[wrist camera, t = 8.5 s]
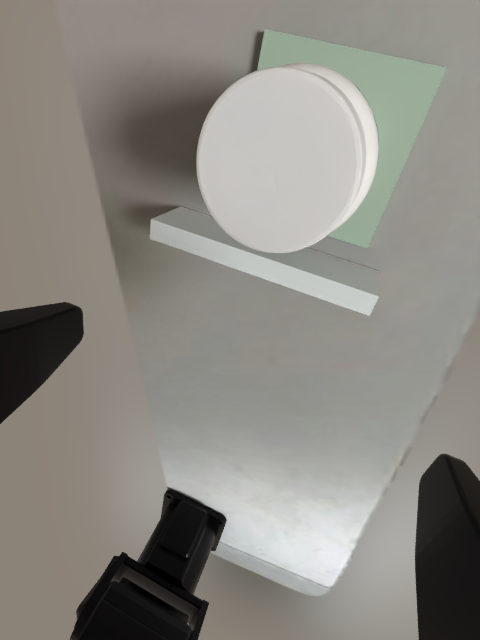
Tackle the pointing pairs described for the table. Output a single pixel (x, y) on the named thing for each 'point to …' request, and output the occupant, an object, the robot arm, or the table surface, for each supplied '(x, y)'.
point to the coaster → (386, 104)
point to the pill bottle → (287, 156)
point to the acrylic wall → (271, 261)
